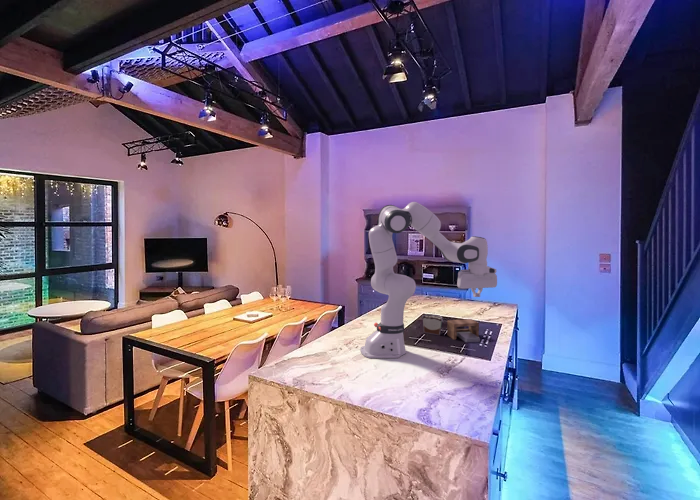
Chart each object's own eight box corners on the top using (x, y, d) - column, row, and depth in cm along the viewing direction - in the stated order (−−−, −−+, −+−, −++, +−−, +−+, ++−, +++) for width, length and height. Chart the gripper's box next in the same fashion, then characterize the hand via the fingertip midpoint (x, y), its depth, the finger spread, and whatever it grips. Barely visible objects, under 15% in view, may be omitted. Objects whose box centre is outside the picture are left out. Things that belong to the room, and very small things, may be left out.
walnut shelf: (453, 339, 199) (454, 324, 198) (446, 335, 207) (447, 320, 206) (478, 337, 202) (479, 322, 201) (470, 333, 210) (471, 319, 209)
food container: (445, 332, 211) (445, 316, 210) (442, 335, 206) (442, 318, 205) (425, 329, 217) (425, 313, 217) (421, 332, 212) (421, 315, 211)
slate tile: (465, 343, 195) (466, 338, 194) (456, 336, 206) (456, 332, 206) (479, 342, 196) (480, 337, 196) (469, 335, 208) (469, 331, 207)
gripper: (461, 270, 175) (460, 298, 176) (499, 269, 179) (498, 297, 180) (455, 268, 181) (454, 296, 182) (491, 267, 185) (491, 294, 186)
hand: (476, 296), depth 181 cm, fingers closed
